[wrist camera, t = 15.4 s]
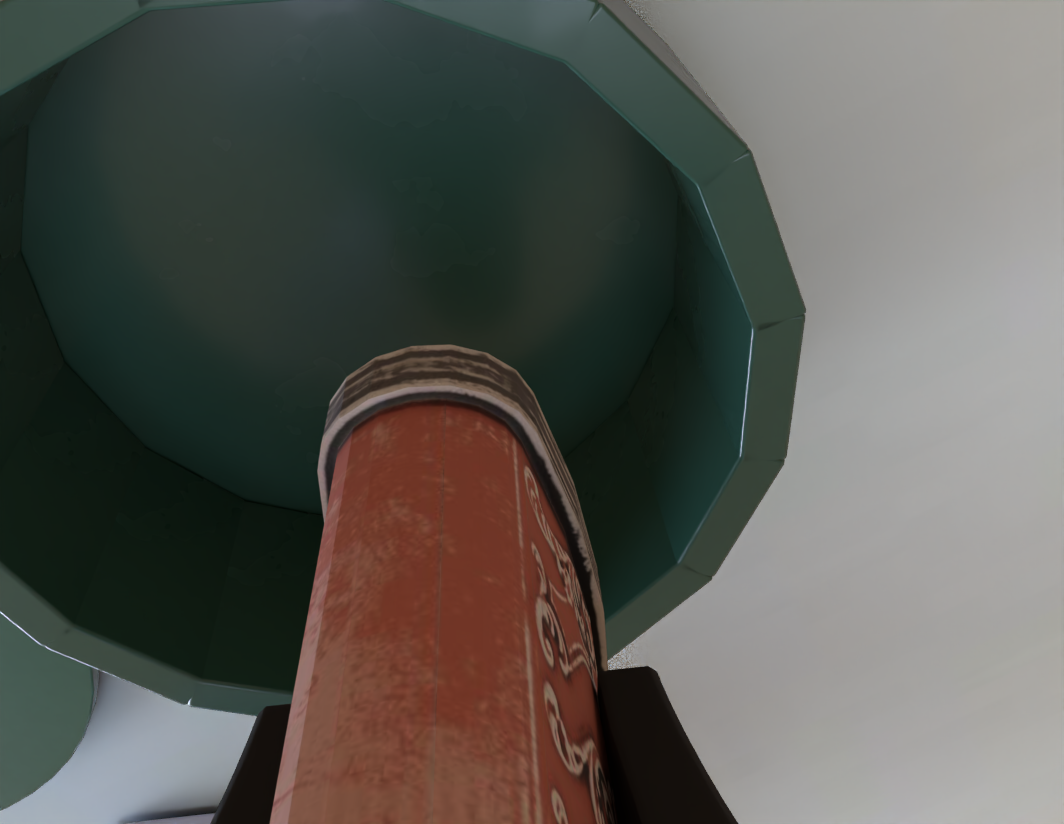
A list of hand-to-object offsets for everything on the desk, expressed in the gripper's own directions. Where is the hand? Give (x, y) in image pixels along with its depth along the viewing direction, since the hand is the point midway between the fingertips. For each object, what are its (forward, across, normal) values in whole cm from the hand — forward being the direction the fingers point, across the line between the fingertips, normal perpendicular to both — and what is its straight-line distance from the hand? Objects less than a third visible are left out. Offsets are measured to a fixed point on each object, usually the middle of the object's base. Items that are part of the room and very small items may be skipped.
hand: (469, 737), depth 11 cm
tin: (+10, +2, -2) cm, 10 cm away
